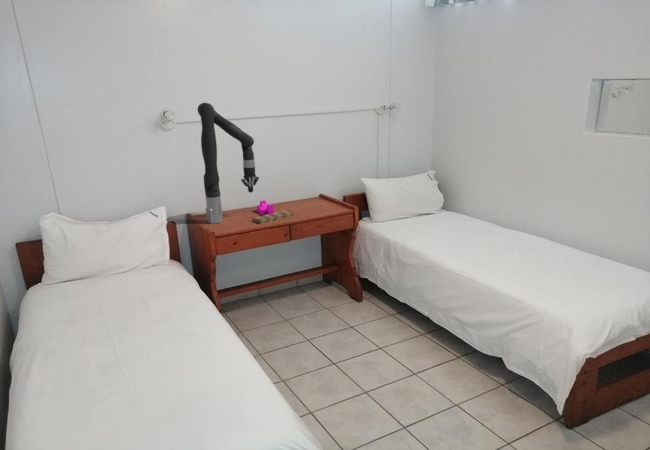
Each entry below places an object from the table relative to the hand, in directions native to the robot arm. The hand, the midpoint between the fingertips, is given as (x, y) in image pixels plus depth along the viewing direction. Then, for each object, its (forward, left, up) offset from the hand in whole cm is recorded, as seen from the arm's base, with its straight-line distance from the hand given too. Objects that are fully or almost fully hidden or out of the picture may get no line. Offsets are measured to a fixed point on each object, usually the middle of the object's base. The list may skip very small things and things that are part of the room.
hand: (250, 192), depth 309 cm
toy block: (+11, 0, -17) cm, 20 cm away
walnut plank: (+8, -13, -17) cm, 23 cm away
